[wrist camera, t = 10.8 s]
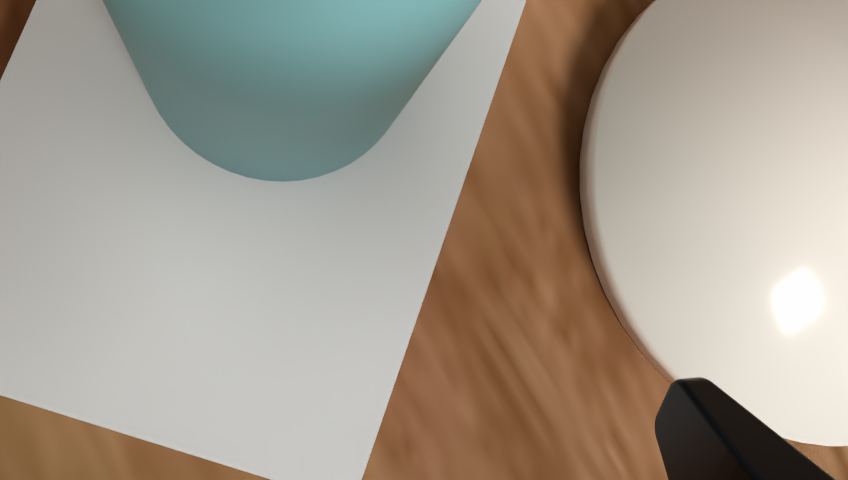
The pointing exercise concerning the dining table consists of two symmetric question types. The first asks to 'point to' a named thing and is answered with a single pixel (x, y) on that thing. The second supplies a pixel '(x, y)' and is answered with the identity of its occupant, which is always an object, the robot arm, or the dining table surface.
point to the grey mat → (218, 255)
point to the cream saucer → (729, 201)
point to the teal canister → (284, 74)
